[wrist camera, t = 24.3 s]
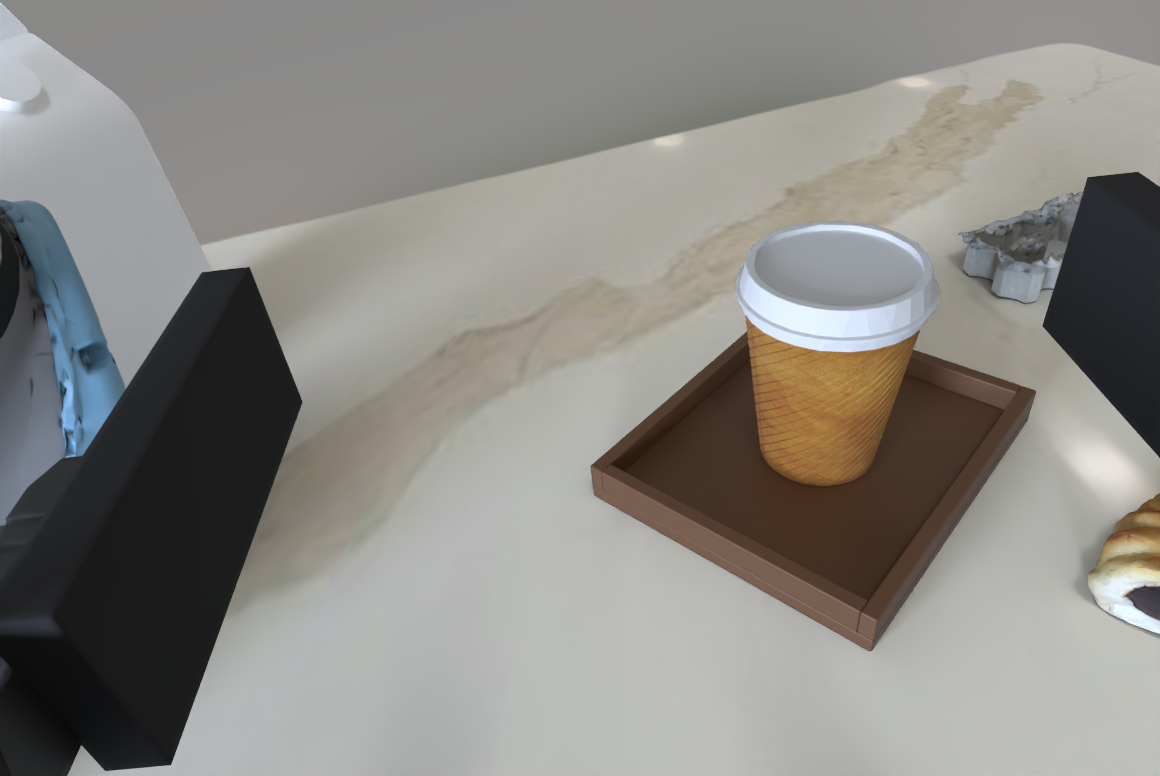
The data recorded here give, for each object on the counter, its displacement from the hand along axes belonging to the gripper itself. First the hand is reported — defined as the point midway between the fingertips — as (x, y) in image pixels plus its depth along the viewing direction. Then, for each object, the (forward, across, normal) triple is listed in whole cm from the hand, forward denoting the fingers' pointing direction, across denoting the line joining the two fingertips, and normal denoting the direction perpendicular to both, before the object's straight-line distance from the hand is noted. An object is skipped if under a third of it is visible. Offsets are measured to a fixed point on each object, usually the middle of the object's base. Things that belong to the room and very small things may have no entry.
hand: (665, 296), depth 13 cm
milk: (+38, -35, -26) cm, 58 cm away
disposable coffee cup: (+22, +11, -25) cm, 36 cm away
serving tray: (+22, +11, -26) cm, 36 cm away
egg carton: (+40, +32, -26) cm, 57 cm away
